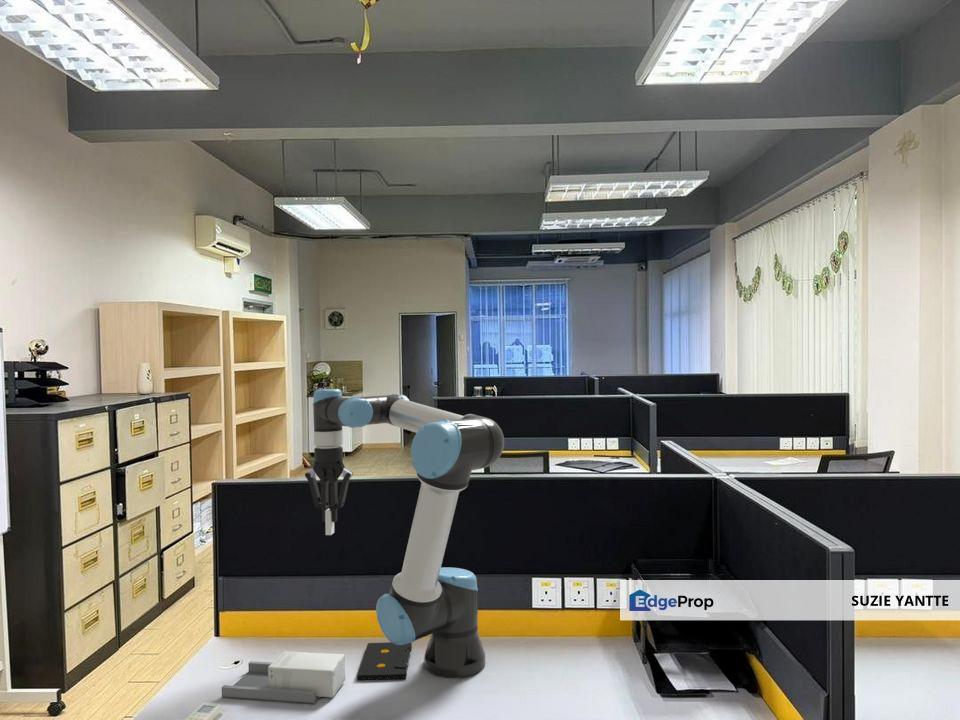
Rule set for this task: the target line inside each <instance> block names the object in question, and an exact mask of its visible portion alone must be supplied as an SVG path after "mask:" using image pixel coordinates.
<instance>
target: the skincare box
mask: <svg viewBox="0 0 960 720" xmlns="http://www.w3.org/2000/svg"><path fill="white" fill-rule="evenodd" d="M345 660H346V659H345V654H344V653H323V652H322V653H321V652H305V651H304V652H301V651H300V652H299V651H285V650H283V651H282V653H280V654H279V656H277V657H276V658H275V659H274V660H273V661H272V664H271V665H270V666H269V667H268V688H273V689H288V690H303V691H316V696H317V697H320V698H323V697H324V698H334V697H335V696H336V693H337V692H338V691H339V689H340V688H341V687H342V685H343V684H344V682H346V662H345Z"/></svg>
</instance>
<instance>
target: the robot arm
mask: <svg viewBox="0 0 960 720" xmlns="http://www.w3.org/2000/svg"><path fill="white" fill-rule="evenodd" d="M312 408H313V411H312V412H313V413H312V414H313V445H314V446H315V448H314V449H313V450H314V451H313V452H314V453H313V457H314V458H313V459H314V460H313V461H314V464H313V467H312V469H311V470H309V471H308V472H305V473H304V477H305V478H306V480H307V482H308V484H309V485H308V486H309V490H310V492H311V496H312V501H313V504H314V507H315V508H316V509H320V511H321V521H322V523H325V536H332V535H333V534H334V533H335V523H336V522H337V521H338V509H341V508H342V507H344V506H345V502H346V498H347V493H348V489H349V483H350V481H351V478H352V476H353V475H354V472H353V471H349V470H348V469H347V468H345V467H346V466H345V464H344V449H343V446H342V445H343V427H348V428H352V429H354V428H363V427H365V426H369V425H370V426H371V425H378V424H388V425H392V426H394V427H398V428H401V429H403V430H406V431H410V432H412V433H416V434H415V435H414V437H413V439H412V443H411V447H410V457H411V458H413V459H412V461H411V464H412V467H413V468H414V471H416V477H417V479H418V480H419V481H420V489H419V492H418V493H419V494H418V498H417V502H416V507H415V510H414V511H415V512H414V515H413V519H412V522H411V528H410V532H409V537H408V542H407V545H406V551H405V555H404V558H403V559H404V560H403V565H402V568H401V572H399V573H397V574H396V575H394V577H393V579H392V583H391V587H390V591H389V592H388V593H384V594H383V595H381V596H380V597H379V598H378V600H377V602H376V606H375V613H376V618H377V619H376V620H377V623H378V625H379V628H380V630H381V632H382V634H383V636H385V638H386V639H387V640H388V641H389V642H392V643H393V644H396V645H404V644H407V643H412V644H413V643H414V642H416V641H419V640H421V639H423V638H425V637H428V636H429V638H428V641H427V646H426V649H425V651H424V658H423V659H424V661H423V662H424V663H423V664H424V668H425V670H426V671H427V672H429V673H430V674H431V675H435V676H436V677H439V678H440V677H442V678H449V679H454V678H456V679H457V678H465V677H469V676H473V675H475V674H476V673H480V672H481V671H482V670H483V669H484V668H485V666H486V652H485V649H484V646H483V643H482V640H481V637H480V634H479V626H478V625H479V624H478V623H479V619H478V617H479V613H478V609H479V608H478V606H479V603H478V597H479V595H478V594H479V593H478V591H479V588H478V581H477V580H478V579H477V576H476V575H475V574H474V572H472V571H470V570H468V569H464V568H461V567H460V568H459V567H442V564H443V561H444V560H443V559H444V556H445V551H446V548H447V544H448V539H449V535H450V531H451V527H452V524H453V519H454V515H455V511H456V507H457V502H458V498H459V494H460V493H461V492H462V491H463V490H465V489H466V488H468V486H469V482H470V478H471V474H472V471H476V470H482V469H485V468H487V467H490V466H491V465H494V464H495V463H496V462H497V461H498V460H499V459H500V457H501V455H502V454H503V452H504V448H505V436H504V433H503V430H502V429H501V427H500V426H499V424H498V423H497V422H496V421H494V420H493V419H491V418H489V417H485V416H481V415H477V414H475V413H474V414H473V413H468V414H465V415H461V414H457V413H454V412H451V411H447V410H444V409H443V410H442V409H440V408H436V407H432V406H429V405H425V404H421V403H418V402H415V401H410V399H409V398H408V397H407V396H406V395H405V394H396V393H395V394H394V393H393V394H387V395H371V396H355V397H343V394H342V390H341V389H338V388H327V389H326V388H324V389H322V388H321V389H316V390H315V391H314V392H313V403H312ZM341 475H342V476H341ZM316 476H317V477H318V479H319V485H320V490H319V485H318V481H317V478H316ZM340 477H342V481H341V485H340V490H339V489H338V483H339V478H340ZM338 490H339V493H338ZM329 494H330V495H329ZM329 498H330V499H329ZM329 500H330V501H329ZM329 502H330V504H329Z"/></svg>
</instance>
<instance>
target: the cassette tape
mask: <svg viewBox="0 0 960 720" xmlns="http://www.w3.org/2000/svg"><path fill="white" fill-rule="evenodd" d="M412 648H413V642H412V643H407V644H404V645H396V644H393V643H392V642H390V641H389V642H388V641H387V642H368V643H367V645H366V647H365V650H364V654H363V655H362V660H361V662H360V665H359V668H358V671H357V674H356V681H357V682H369V681H370V682H373V681H374V682H375V681H403V680H405V681H406V680H407V676H408V673H407V671H408V670H407V669H408V666H409V665H410V664H409V663H410V662H409V659H411V650H413V649H412ZM406 650H407V651H406Z"/></svg>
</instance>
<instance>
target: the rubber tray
mask: <svg viewBox="0 0 960 720" xmlns="http://www.w3.org/2000/svg"><path fill="white" fill-rule="evenodd" d="M247 663H248V665H247V666H248V671H247V672H246V673H245V674H244V675H243V676H241V678H240V679H239V680H237V681H236V682H235V683H234V684H233V685H229V684H227V685H226V684H223V685H222V686H221V699H232V700H233V699H234V700H245V701H246V700H247V701H257V702H259V701H260V702H261V701H262V702H272V703H273V702H275V703H288V704H300V705H301V704H303V705H313V706H314V705H315V704H316V703H317V701H318V700H319V699H320V698H321V697H317V696H316V691H303V690H288V689H273V688H268V667H269V666H270V665H271V664H272V663H273V661H272V662H270V661H254V660H252V661H251V660H250V661H249V662H247Z"/></svg>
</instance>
